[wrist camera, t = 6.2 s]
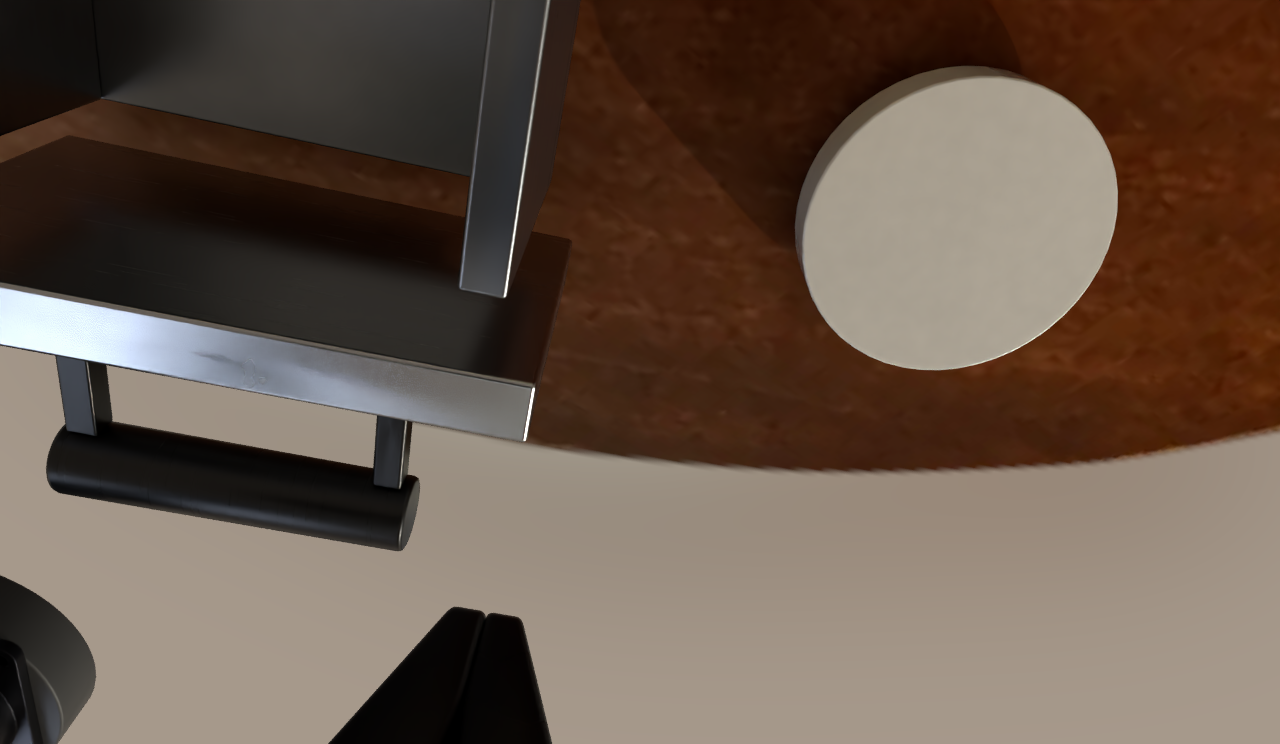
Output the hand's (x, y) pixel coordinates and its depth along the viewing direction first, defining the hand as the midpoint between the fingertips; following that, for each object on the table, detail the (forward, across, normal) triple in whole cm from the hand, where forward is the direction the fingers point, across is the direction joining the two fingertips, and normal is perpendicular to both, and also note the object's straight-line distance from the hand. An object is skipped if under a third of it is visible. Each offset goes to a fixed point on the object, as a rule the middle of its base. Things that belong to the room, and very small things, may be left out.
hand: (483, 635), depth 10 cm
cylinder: (+13, -8, -3) cm, 15 cm away
